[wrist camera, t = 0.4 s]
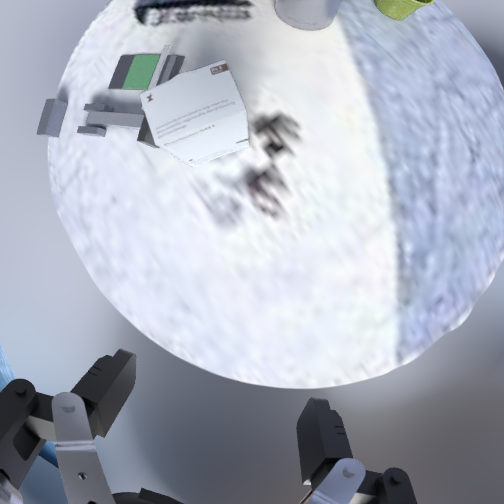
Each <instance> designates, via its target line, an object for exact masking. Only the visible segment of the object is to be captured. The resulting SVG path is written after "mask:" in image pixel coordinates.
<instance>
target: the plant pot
mask: <svg viewBox="0 0 504 504" xmlns="http://www.w3.org/2000/svg"><path fill="white" fill-rule="evenodd" d="M433 2H434V0H375V4H376V6H377V8H378V9H379V10H380V11H381V12H382V13H383V14H385V15H386V16H390V17H392V18H393V19H395V20H403V19H405V18H406V17H408V16H409V15H410V14H412V13H413V12H414V11H416V10H417V9H419V8H420V7H422V6H425V5H430V4H432V3H433Z"/></svg>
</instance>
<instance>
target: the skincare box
mask: <svg viewBox="0 0 504 504" xmlns="http://www.w3.org/2000/svg"><path fill="white" fill-rule="evenodd" d="M139 96H140V99H141V102H142V106H143V109H144V112H145V115H146V118H147V121H148V124H149V127H150V130H151V133H152V136H153V139H154V142H155V145H157V146H159V147H160V148H162V149H163V150H165V151H167V152H168V153H170V154H172V155H173V156H175V157H176V158H178V159H179V160H181V161H183V162H184V163H186V164H187V165H189V166H191V167H197V166H199V165H201V164H203V163H205V162H208V161H210V160H212V159H215V158H217V157H220V156H223V155H226V154H229V153H232V152H235V151H238V150H242V149H246V148H248V147H249V135H248V120H247V111H246V108H245V105H244V103H243V100H242V98H241V95H240V93H239V90H238V88H237V85H236V83H235V80H234V78H233V75H232V73H231V71H230V68H229V66H228V63H227V61H226V60H225V59H224V60H221V61H218V62H215V63H212V64H210V65H207V66H204V67H202V68H199V69H196V70H194V71H187V72H183V73H180V74H178V75H176V76H175V77H173V78H172V79H171V80H169V81H167V82H165V83H162V84H160V85H158V86H156V87H153V88H151V89H148V90H146V91H143V92H141V93H140V94H139Z"/></svg>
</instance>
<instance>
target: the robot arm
mask: <svg viewBox="0 0 504 504" xmlns="http://www.w3.org/2000/svg"><path fill="white" fill-rule="evenodd" d="M341 2H342V0H276V3H275V10H276V13H277V15H278V16H279V18H280V19H281V20H282V21H284V22H285V23H287V24H288V25H290V26H293V27H295V28H298V29H303V30H320V29H324V28H326V27H328V26H329V25H330V24H331V23H332V21H333V20H334V17H335V15H336V13H337V10H338V8H339V6H340V4H341ZM135 379H136V355H135V354H133V353H131V352H128V351H125V350H123V349H119V350H118V351H117V352H116V354H115V355H114V356H113V357H112V356H109V355H106V356H104V357H102V358H99V359H98V360H97V361H96V362H95V363H94V365H93V366H92V367H91V368H90V369H89V370H88V372H87V373H86V374H85V375H84V376H83V377H82V378H81V380H80V381H79V382H78V383H77V384H76V386H75V387H74V388H73V389H72V390H71V391H70V392H62V393H59V394H57V395H56V396H55V397H54V396H49V395H45V394H42V393H39V392H36V390H35V387H34V385H33V384H32V383H31V382H29V381H28V380H25V379H15V380H12V381H11V382H10V383H9V384H8V385H7V386H6V387H5V388H4V389H3V390H2V391H1V392H0V504H23V500H22V497H21V495H20V493H19V491H18V489H19V487H20V485H21V484H22V482H23V480H24V478H25V476H26V474H27V472H28V471H29V469H30V467H31V466H32V464H33V462H34V461H35V459H36V457H37V456H38V454H39V452H40V451H41V449H42V447H43V446H44V444H45V442H46V441H47V440H49V441H52V442H56V443H57V445H55V449H56V455H57V460H58V465H59V469H60V473H61V477H62V481H63V485H64V489H65V492H66V496H67V499H68V502H69V504H183V503H181V502H179V501H177V500H175V499H173V498H170V497H168V496H165V495H162V494H159V493H155V492H152V491H149V490H146V489H144V488H142V489H141V491H140V493H133V492H121V493H115V494H111V491H110V489H109V486H108V483H107V481H106V478H105V475H104V473H103V470H102V467H101V464H100V461H99V458H98V455H97V452H96V448H95V445H94V442H93V440H94V438H95V437H96V435H99V436H101V437H104V438H105V436H106V434H107V432H108V431H109V429H110V427H111V425H112V424H113V422H114V420H115V418H116V417H117V415H118V413H119V412H120V410H121V408H122V407H123V405H124V403H125V402H126V400H127V398H128V397H129V395H130V393H131V392H132V389H133V387H134V384H135ZM296 429H297V438H298V448H299V457H300V466H301V475H302V484H306V485H311V487H312V490H311V491H310V492H309V493H308V494H307V495H306V496H305V498H304V499H303V500H302V501H301V502H300V503H299V504H417V501H416V498H415V495H414V492H413V489H412V485H411V482H410V479H409V477H408V475H407V473H406V472H404V471H403V470H402V469H399V468H389V469H387V470H386V471H385V472H384V473H383V474H382V473H377V472H372V471H367V470H365V468H364V466H363V465H362V464H361V463H360V462H359V461H357V460H355V459H353V456H352V453H351V449H350V445H349V442H348V438H347V435H346V432H345V428H344V425H343V421H342V418H341V417H340V416H339V414H338V413H337V412H336V411H335V410H330V406H329V402H328V400H327V399H321V398H310V399H309V401H308V402H307V405H306V406H305V408H304V410H303V412H302V414H301V415H300V417H299V419H298V422H297V428H296Z"/></svg>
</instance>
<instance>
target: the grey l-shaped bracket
mask: <svg viewBox="0 0 504 504" xmlns="http://www.w3.org/2000/svg"><path fill="white" fill-rule="evenodd" d="M170 48H171V47H170V45H165V47H164V49H163V51H162V54H161V56H160V58H159V61H158V63H157V66H156V68H155V71H154V74H153V76H152V79H151V82H150V84H149V87H148V89H151V88H153V87H156V84H157V81H158V79H159V76H160V73H161V71H162V68H163V65H164V63H165V60H166V58H167V55H168V53H169V51H170ZM141 109H142V110H144V109H143V106H142V108H141ZM86 123H87V124H90V125H94V126H107V127H119V128H128V129H137V130H140V131H139V135H138V139H137V141H139V142H141V143H144V144H146V145H149V146H151V147H154V148H160V147H159V146H157V145H155V142H154V139H153V136H152V133H151V130H150V127H149V124H148V121H147V118H146V115H140V114H129V113H115V112H93V111H89V115H88V118H87V121H86Z"/></svg>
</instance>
